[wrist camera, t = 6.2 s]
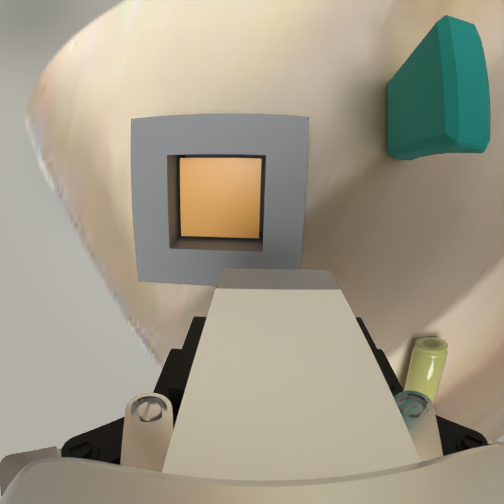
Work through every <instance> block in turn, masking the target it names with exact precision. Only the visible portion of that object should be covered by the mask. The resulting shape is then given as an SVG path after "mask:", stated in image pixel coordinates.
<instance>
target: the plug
mask: <svg viewBox="0 0 504 504" xmlns="http://www.w3.org/2000/svg"><path fill="white" fill-rule="evenodd" d="M418 462H421V460H420V458H419V455H418V453H417V451H416V448H415V446H414V443H413V441H412V439H411V436H410V434H409V431H408V429H407V427H406V424H405V422H404V420H403V418H402V415H401V413H400V411H399V408H398V406H397V404H396V402H395V400H394V397H393V395H392V393H391V391H390V389H389V386H388V384H387V382H386V380H385V378H384V376H383V373H382V371H381V369H380V367H379V365H378V363H377V361H376V359H375V357H374V355H373V353H372V350H371V348H370V346H369V344H368V342H367V340H366V338H365V336H364V334H363V332H362V330H361V328H360V326H359V324H358V322H357V320H356V318H355V316H354V314H353V312H352V310H351V309H350V307H349V305H348V303H347V301H346V299H345V297H344V295H343V293H342V291H341V289H340V287H339V286H338V284H337V282H336V280H335V278H334V276H333V274H332V272H331V271H330V270H301V269H230V268H222V270H221V273H220V276H219V279H218V283H217V286H216V289H215V292H214V295H213V299H212V302H211V305H210V308H209V312H208V315H207V318H206V321H205V325H204V328H203V331H202V334H201V338H200V341H199V344H198V348H197V351H196V354H195V358H194V361H193V364H192V368H191V371H190V375H189V378H188V381H187V385H186V388H185V392H184V395H183V399H182V402H181V406H180V409H179V412H178V416H177V419H176V423H175V427H174V430H173V434H172V437H171V441H170V444H169V448H168V452H167V455H166V459H165V463H164V466H163V470H162V473H169V474H176V475H184V476H192V477H202V478H213V479H228V480H256V481H277V480H304V479H318V478H329V477H339V476H347V475H355V474H362V473H368V472H375V471H380V470H386V469H391V468H396V467H401V466H405V465H410V464H414V463H418Z"/></svg>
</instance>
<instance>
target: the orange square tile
mask: <svg viewBox="0 0 504 504" xmlns="http://www.w3.org/2000/svg"><path fill="white" fill-rule="evenodd" d="M260 190H261V158H216V157H210V158H180V212H181V236H199V237H232V238H259V221H260Z"/></svg>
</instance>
